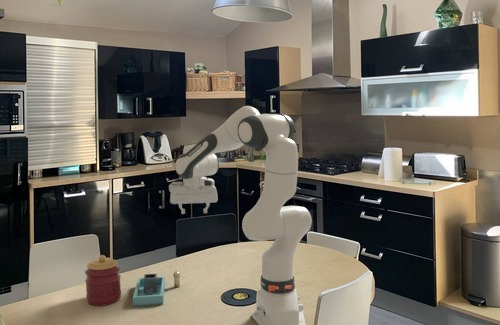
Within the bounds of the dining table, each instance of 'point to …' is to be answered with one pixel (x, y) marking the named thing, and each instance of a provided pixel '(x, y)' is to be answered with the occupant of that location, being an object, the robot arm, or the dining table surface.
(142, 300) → the tray
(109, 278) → the canister
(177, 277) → the ball stud
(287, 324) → the robot arm
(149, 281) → the link
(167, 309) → the dining table surface
